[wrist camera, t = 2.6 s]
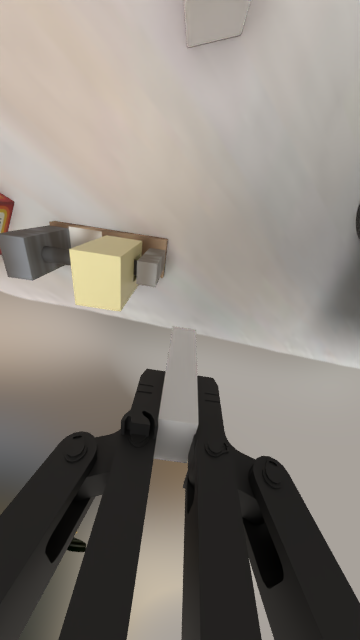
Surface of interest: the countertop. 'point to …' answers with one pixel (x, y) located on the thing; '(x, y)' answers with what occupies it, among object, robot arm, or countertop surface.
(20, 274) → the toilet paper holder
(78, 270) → the pale yellow block
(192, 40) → the milk
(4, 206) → the baking soda box
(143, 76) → the countertop surface
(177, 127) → the countertop surface
